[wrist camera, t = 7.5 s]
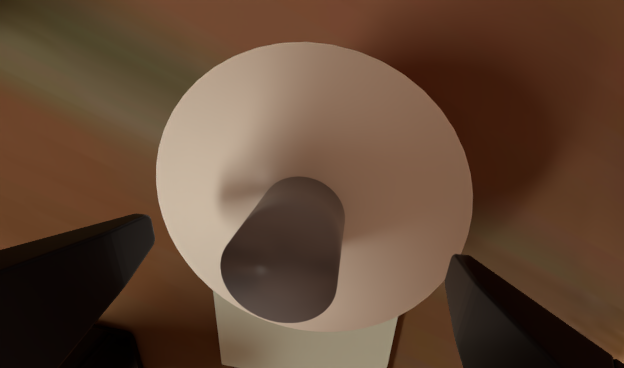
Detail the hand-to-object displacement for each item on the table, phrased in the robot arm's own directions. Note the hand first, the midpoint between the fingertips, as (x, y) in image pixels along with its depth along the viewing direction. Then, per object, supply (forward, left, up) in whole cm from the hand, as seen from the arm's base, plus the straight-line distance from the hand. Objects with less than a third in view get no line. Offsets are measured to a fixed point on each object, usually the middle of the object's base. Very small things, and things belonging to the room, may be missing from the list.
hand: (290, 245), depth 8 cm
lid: (0, 0, -3) cm, 3 cm away
